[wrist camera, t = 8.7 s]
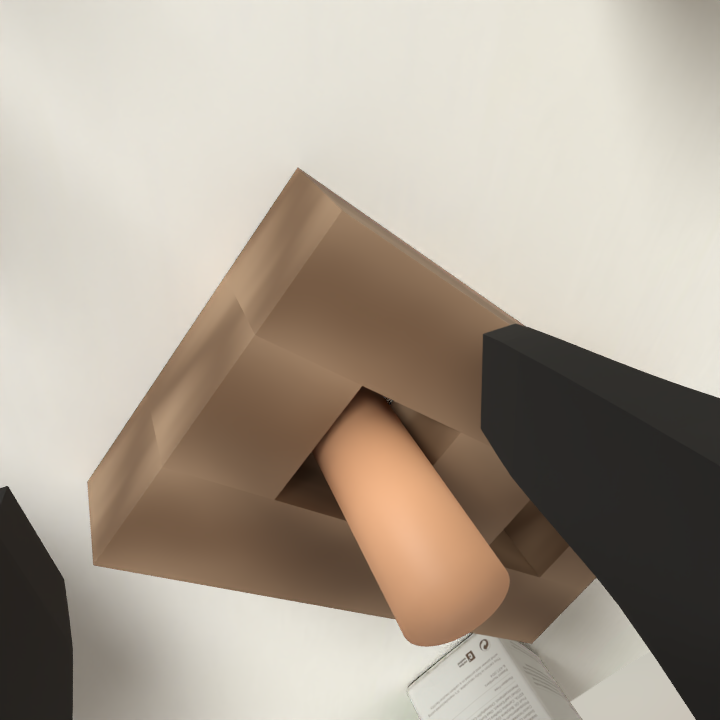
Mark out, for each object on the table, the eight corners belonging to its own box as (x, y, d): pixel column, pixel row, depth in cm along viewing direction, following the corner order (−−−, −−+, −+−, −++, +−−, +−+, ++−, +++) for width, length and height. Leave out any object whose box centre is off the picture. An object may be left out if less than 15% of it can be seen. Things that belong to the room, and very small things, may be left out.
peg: (341, 443, 24) (459, 651, 17) (276, 419, 22) (378, 640, 15) (388, 380, 23) (530, 572, 16) (324, 351, 22) (454, 552, 15)
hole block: (493, 586, 34) (531, 643, 31) (87, 481, 21) (93, 565, 18) (652, 414, 31) (709, 461, 28) (297, 167, 18) (342, 210, 15)
